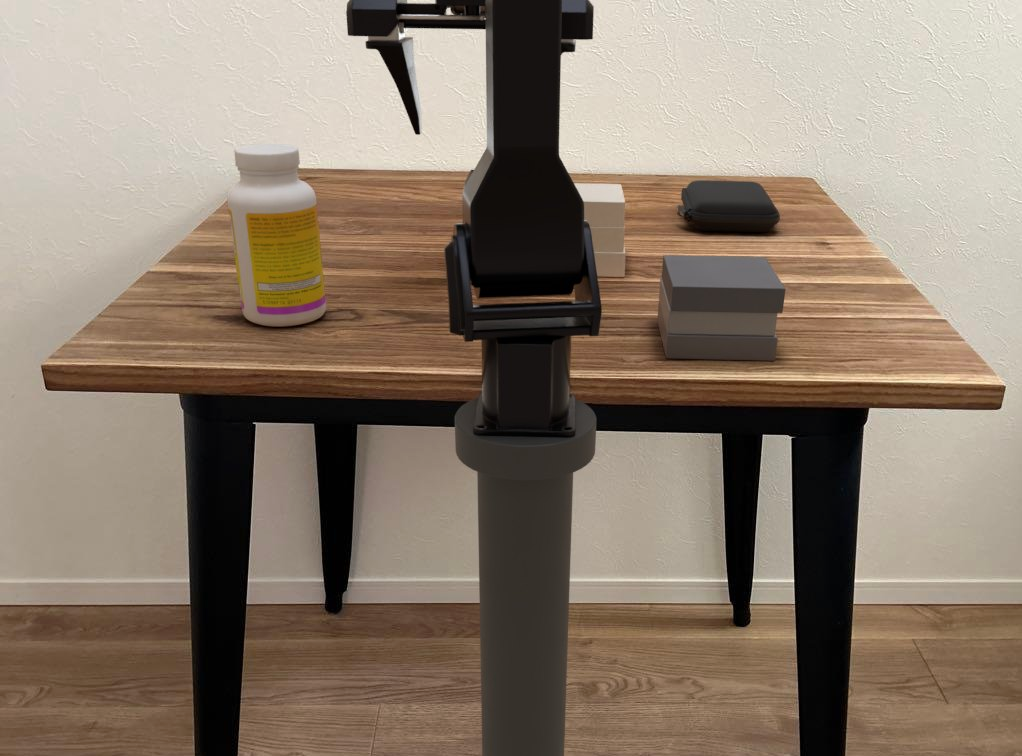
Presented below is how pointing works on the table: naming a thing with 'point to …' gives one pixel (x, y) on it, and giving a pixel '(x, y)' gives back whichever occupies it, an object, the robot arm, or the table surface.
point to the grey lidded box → (719, 307)
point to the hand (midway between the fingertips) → (474, 135)
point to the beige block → (609, 251)
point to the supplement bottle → (275, 238)
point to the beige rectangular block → (602, 204)
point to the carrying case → (728, 206)
